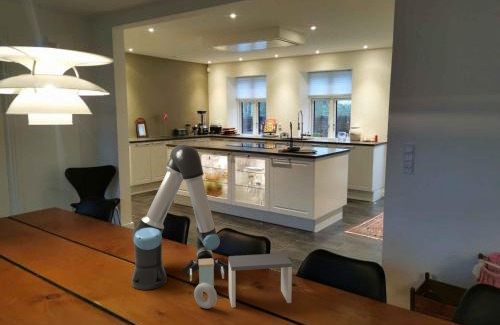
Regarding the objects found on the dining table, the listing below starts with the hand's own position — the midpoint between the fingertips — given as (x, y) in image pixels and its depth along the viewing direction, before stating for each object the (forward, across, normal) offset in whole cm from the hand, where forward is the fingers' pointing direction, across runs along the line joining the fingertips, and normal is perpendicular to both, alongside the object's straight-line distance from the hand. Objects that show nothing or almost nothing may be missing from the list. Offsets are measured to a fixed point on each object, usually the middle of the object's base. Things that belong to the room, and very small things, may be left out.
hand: (207, 276), depth 153 cm
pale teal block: (-3, 0, -6) cm, 7 cm away
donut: (+13, +1, -7) cm, 15 cm away
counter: (+10, -21, -6) cm, 24 cm away
